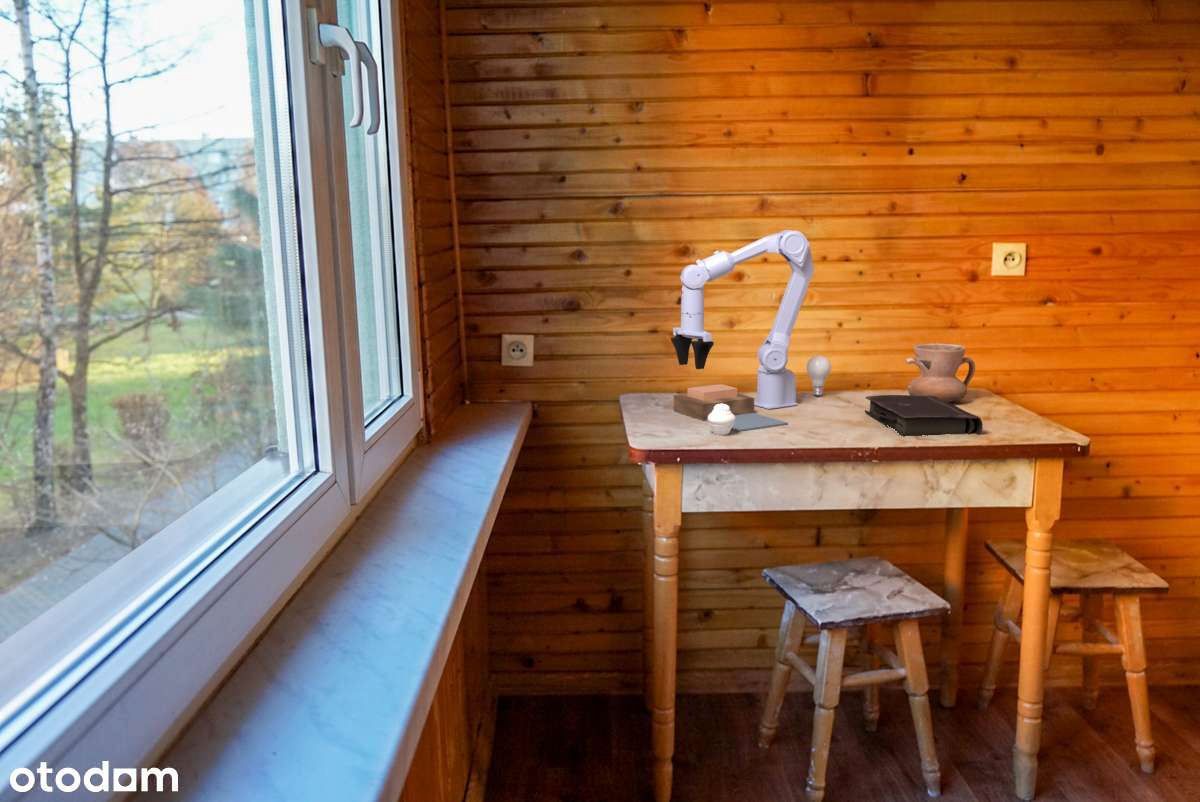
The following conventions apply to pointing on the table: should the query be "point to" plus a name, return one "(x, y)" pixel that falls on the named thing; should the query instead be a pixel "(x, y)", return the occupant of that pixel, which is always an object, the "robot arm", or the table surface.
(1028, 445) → the table surface
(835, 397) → the table surface
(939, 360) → the ceramic jug
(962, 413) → the diary
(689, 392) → the block
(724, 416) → the muffin
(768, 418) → the mat
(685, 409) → the board
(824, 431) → the table surface
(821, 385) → the lightbulb
